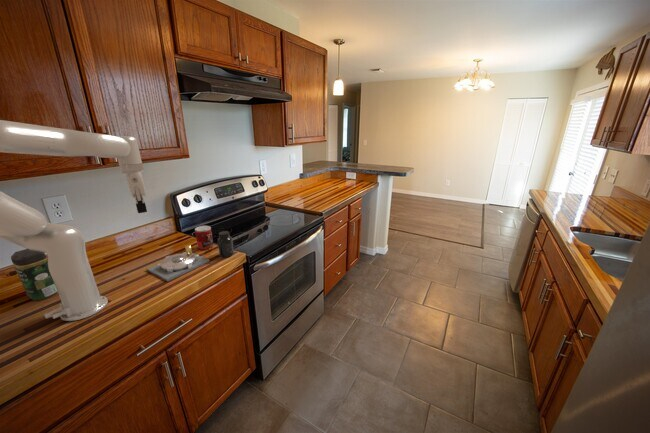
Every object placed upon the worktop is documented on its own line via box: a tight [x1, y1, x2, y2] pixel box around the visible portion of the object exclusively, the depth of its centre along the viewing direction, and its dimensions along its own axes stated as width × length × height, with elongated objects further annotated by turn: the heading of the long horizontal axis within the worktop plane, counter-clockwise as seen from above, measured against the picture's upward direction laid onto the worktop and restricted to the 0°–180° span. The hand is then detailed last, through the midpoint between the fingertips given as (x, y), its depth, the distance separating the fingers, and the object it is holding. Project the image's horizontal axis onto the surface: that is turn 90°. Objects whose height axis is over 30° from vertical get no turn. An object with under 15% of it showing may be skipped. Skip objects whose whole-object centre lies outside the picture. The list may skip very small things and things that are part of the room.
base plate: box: [146, 252, 211, 282], centre depth 121 cm, size 20×17×1 cm
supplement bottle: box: [217, 230, 235, 258], centre depth 130 cm, size 7×7×12 cm
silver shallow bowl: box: [157, 244, 198, 273], centre depth 120 cm, size 15×16×6 cm
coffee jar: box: [10, 248, 58, 301], centre depth 98 cm, size 10×8×19 cm
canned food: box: [194, 225, 214, 251], centre depth 139 cm, size 8×8×11 cm
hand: (142, 212), depth 111 cm, fingers closed
